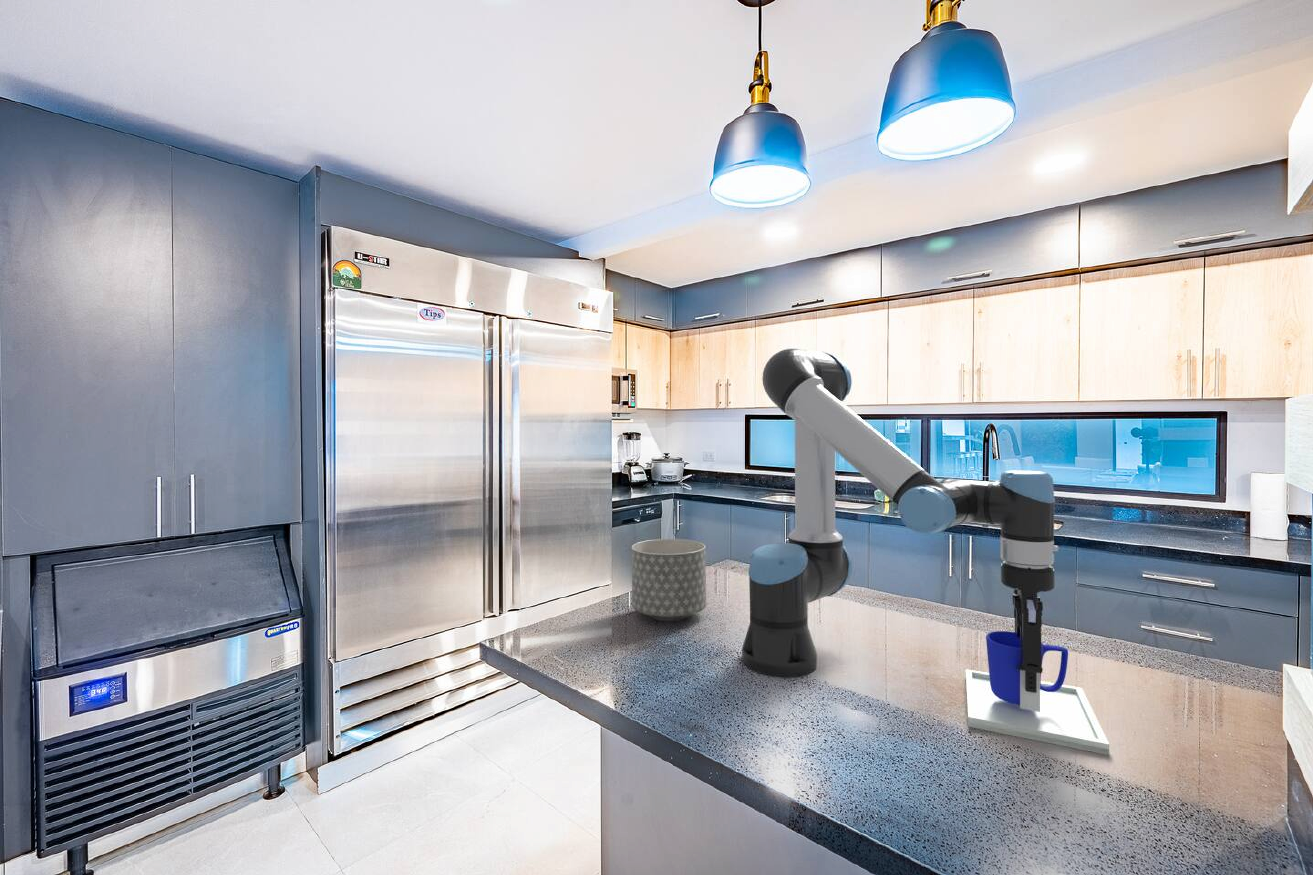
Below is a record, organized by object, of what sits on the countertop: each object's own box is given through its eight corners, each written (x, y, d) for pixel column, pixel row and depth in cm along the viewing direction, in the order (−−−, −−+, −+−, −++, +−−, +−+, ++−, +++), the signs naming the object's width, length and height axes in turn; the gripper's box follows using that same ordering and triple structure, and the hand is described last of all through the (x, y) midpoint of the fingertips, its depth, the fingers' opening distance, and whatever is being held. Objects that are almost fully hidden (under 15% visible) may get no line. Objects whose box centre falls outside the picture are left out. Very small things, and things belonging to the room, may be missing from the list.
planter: (639, 603, 158) (638, 538, 157) (708, 605, 155) (707, 539, 155) (626, 627, 139) (625, 553, 139) (704, 630, 136) (703, 554, 136)
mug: (1079, 714, 91) (1079, 652, 91) (996, 707, 94) (995, 647, 94) (1055, 690, 99) (1055, 633, 99) (979, 684, 102) (979, 629, 102)
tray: (968, 726, 91) (968, 716, 91) (965, 677, 109) (965, 669, 109) (1109, 754, 83) (1109, 744, 83) (1081, 696, 101) (1081, 687, 101)
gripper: (1064, 580, 85) (1064, 732, 85) (1045, 553, 103) (1045, 679, 103) (1005, 574, 89) (1006, 721, 89) (996, 549, 106) (997, 672, 107)
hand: (1027, 698), depth 96 cm, fingers closed on mug, 7 cm apart
